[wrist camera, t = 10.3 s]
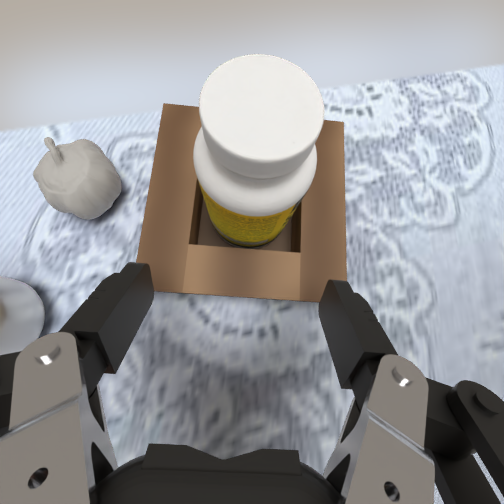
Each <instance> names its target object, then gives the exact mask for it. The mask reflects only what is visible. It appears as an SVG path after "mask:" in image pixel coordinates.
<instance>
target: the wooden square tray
mask: <svg viewBox="0 0 504 504" xmlns="http://www.w3.org/2000/svg"><path fill="white" fill-rule="evenodd" d="M201 127H202V125H201V120H200V114H199V107H194V106H184V105H175V104H165V103H164V104H163V110H162V116H161V121H160V127H159V133H158V139H157V145H156V150H155V156H154V162H153V168H152V174H151V179H150V185H149V191H148V197H147V202H146V208H145V214H144V220H143V226H142V231H141V237H140V243H139V249H138V255H137V260H136V263H147V264H149V266H150V270H151V276H152V281H153V287H154V291H158V292H173V293H188V294H202V295H217V296H232V297H247V298H262V299H276V300H291V301H306V302H320V300H321V297H322V295H323V292H324V289H325V287H326V284H327V282H328V280H330V279H331V280H343V281H347V266H346V216H345V166H344V122H338V121H329V120H324V121H323V125H322V128H321V131H320V134H319V136H318V138H317V140H316V142H315V146H316V151H317V165H316V171H315V175H314V178H313V181H312V183H311V185H310V187H309V189H308V191H307V193H306V194H305V196H304V197H303V199H302V200H301V202H300V204H299V205H298V207H297V208H296V210H295V212H294V213H293V215H292V216H291V218H290V219H289V221H288V222H287V224H286V225H285V227H284V229H283V230H282V232H281V233H280V234H279V235H278V237H277V238H276V239H275V240H273V241H272V242H271V243H269V244H267V245H266V246H263V247H260V248H256V249H244V248H238V247H235V246H233V245H231V244H229V243H227V242H226V241H224V240H223V239H222V238H221V237H220V236H219V235H218V233H217V232H216V230H215V229H214V226H213V224H212V221H211V219H210V216H209V213H208V209H207V206H206V203H205V200H204V197H203V194H202V191H201V188H200V185H199V182H198V179H197V176H196V172H195V167H194V159H193V151H194V145H195V140H196V137H197V135H198V133H199V130H200V128H201Z"/></svg>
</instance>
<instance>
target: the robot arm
mask: <svg viewBox="0 0 504 504" xmlns="http://www.w3.org/2000/svg"><path fill="white" fill-rule="evenodd" d="M153 298H154V287H153V281H152V276H151V270H150V266H149V264H147V263H135V262H129V263H127V264H126V266H125V267H124V268H123V269H122V271H121V272H120V273H114V274H112V275H110V276H109V277H107V278H106V279H104V280H103V281H102V282H101V283H100V284H99V285H98V287H97V288H96V289H95V291H93V292H92V294H91V295H90V296H89V297H88V300H87V299H86V300H85V302H84V303H83V304H82V305H81V306H80V307H79V309H78V310H77V311H76V312H75V313H74V314H73V316H72V317H71V318H70V319H69V320H68V321H67V323H66V324H65V325H64V326H63V327H62V328H61V329H60V331H59V332H56V333H51V334H48V335H45V336H43V337H40V338H38V339H37V340H35V341H33V342H32V343H30V344H29V345H28V346H27V347H25V348H24V349H23V350H22V351H19V352H14V353H9V354H4V355H0V504H434V481H435V484H436V486H437V488H438V491H439V493H440V495H441V497H442V500H443V502H444V504H501V503H500V501H499V499H498V498H497V496H496V494H495V492H494V491H493V489H492V487H491V486H490V484H489V482H488V480H487V479H486V477H485V475H484V474H483V472H482V470H481V468H480V467H479V465H478V463H477V462H476V460H475V458H474V456H473V455H472V454H474V453H476V452H477V453H478V455H479V456H480V458H481V460H482V461H483V463H484V465H485V466H486V468H487V470H488V471H489V473H490V475H491V477H492V478H493V480H494V482H495V483H496V485H497V487H498V488H499V490H500V492H501V493H502V495H503V497H504V402H503V401H502V400H501V399H500V398H499V397H498V396H497V395H496V394H494V393H493V392H492V391H490V390H489V389H487V388H486V387H484V386H482V385H480V384H478V383H475V382H472V381H467V380H464V381H460V382H459V383H458V384H456V385H455V386H454V387H450V386H448V385H445V384H442V383H439V382H437V381H434V380H431V379H428V378H426V377H425V376H424V375H423V373H422V372H421V371H420V370H419V369H418V368H417V367H416V366H415V365H414V364H413V363H411V362H410V361H408V360H407V359H405V358H403V357H401V356H398V354H397V352H396V351H395V349H394V347H393V345H392V344H391V342H390V340H389V339H388V337H387V335H386V333H385V332H384V330H383V328H382V326H381V325H380V323H379V322H378V319H377V318H376V316H375V314H373V311H372V309H371V307H370V306H369V304H368V302H367V301H366V300H365V299H364V298H363V297H362V296H361V295H360V294H358V293H354V292H353V290H352V288H351V286H350V285H349V283H348V282H347V281H343V280H331V279H330V280H328V282H327V284H326V287H325V289H324V292H323V295H322V297H321V300H320V303H319V318H320V321H321V324H322V327H323V331H324V334H325V337H326V340H327V344H328V347H329V350H330V353H331V357H332V360H333V363H334V366H335V370H336V373H337V376H338V379H339V382H340V386H341V389H352V390H353V393H354V396H355V397H354V398H353V400H352V403H351V405H350V408H349V411H348V414H347V417H346V419H345V422H344V425H343V428H342V431H341V433H340V436H339V439H338V442H337V444H336V447H335V449H334V451H333V453H332V455H331V457H330V459H329V461H328V463H327V465H326V468H325V470H324V473H323V475H321V474H319V473H318V472H317V471H315V470H314V469H313V468H311V467H309V466H308V465H306V464H304V463H302V462H300V460H299V452H298V450H278V449H260V450H257V451H253V452H250V453H247V454H243V455H240V456H237V457H233V458H230V459H226V460H222V459H219V458H217V457H214V456H212V455H209V454H207V453H204V452H202V451H199V450H197V449H194V448H192V447H190V446H187V445H170V444H149V445H148V448H147V451H146V455H143V456H140V457H138V458H135V459H133V460H131V461H129V462H127V463H125V464H124V465H122V466H120V467H119V468H118V465H117V461H116V457H115V453H114V450H113V447H112V444H111V441H110V438H109V434H108V429H107V424H106V418H105V413H104V408H103V403H102V397H101V392H100V387H99V384H98V382H99V381H100V379H101V377H102V375H103V373H109V374H116V372H117V370H118V368H119V366H120V364H121V362H122V360H123V358H124V356H125V354H126V352H127V351H128V349H129V347H130V345H131V343H132V341H133V339H134V337H135V335H136V333H137V331H138V329H139V327H140V325H141V323H142V321H143V319H144V318H145V316H146V314H147V312H148V310H149V308H150V306H151V304H152V301H153Z"/></svg>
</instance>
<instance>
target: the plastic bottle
mask: <svg viewBox="0 0 504 504" xmlns="http://www.w3.org/2000/svg"><path fill="white" fill-rule="evenodd" d="M44 322H45V309H44V305H43V302H42V300H41V298H40V297H39V295H38V294H37V293H36V291H35V290H34V289H33V288H32V287H31V286H29V285H28V284H26V283H24V282H22V281H19V280H15V279H11V278H7V277H4V276H0V355H4V354H9V353H14V352H19V351H22V350H23V349H24V348H25V347H27V346H28V345H29V344H30V343H32V342H33V341H35V340H37V339H38V337H39V336H40V334H41V331H42V329H43V326H44Z"/></svg>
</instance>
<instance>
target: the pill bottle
mask: <svg viewBox="0 0 504 504" xmlns="http://www.w3.org/2000/svg"><path fill="white" fill-rule="evenodd" d="M199 114H200V120H201V125H202V127H201V128H200V130H199V133H198V135H197V137H196V140H195V145H194V151H193V159H194V167H195V172H196V176H197V179H198V182H199V185H200V188H201V191H202V194H203V197H204V200H205V203H206V206H207V209H208V213H209V216H210V219H211V221H212V224H213V226H214V229H215V230H216V232H217V233H218V235H219V236H220V237H221V238H222V239H223V240H224V241H226V242H227V243H229V244H231V245H233V246H235V247H238V248H244V249H256V248H260V247H263V246H266V245H267V244H269V243H271V242H272V241H273V240H275V239H276V238H277V237H278V235H279V234H280V233H281V232H282V230H283V229H284V227H285V225H286V224H287V222H288V221H289V219H290V218H291V216H292V215H293V213H294V212H295V210H296V208H297V207H298V205H299V204H300V202H301V200H302V199H303V197H304V196H305V194H306V193H307V191H308V189H309V187H310V185H311V183H312V181H313V178H314V175H315V171H316V165H317V151H316V146H315V142H316V140H317V138H318V136H319V134H320V131H321V128H322V125H323V121H324V104H323V99H322V96H321V94H320V91H319V89H318V87H317V86H316V84H315V83H314V81H313V80H312V79H311V78H310V76H309V75H308V74H307V73H306V72H305V71H303V70H302V69H301V68H299V67H298V66H296V65H295V64H293V63H291V62H289V61H287V60H284V59H282V58H279V57H275V56H271V55H262V54H252V55H246V56H240V57H237V58H234V59H232V60H229V61H227V62H225V63H224V64H222V65H220V66H219V67H218V68H217V69H215V71H213V72H212V73H211V74H210V76H209V77H208V79H207V80H206V82H205V84H204V85H203V87H202V90H201V93H200V98H199Z"/></svg>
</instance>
